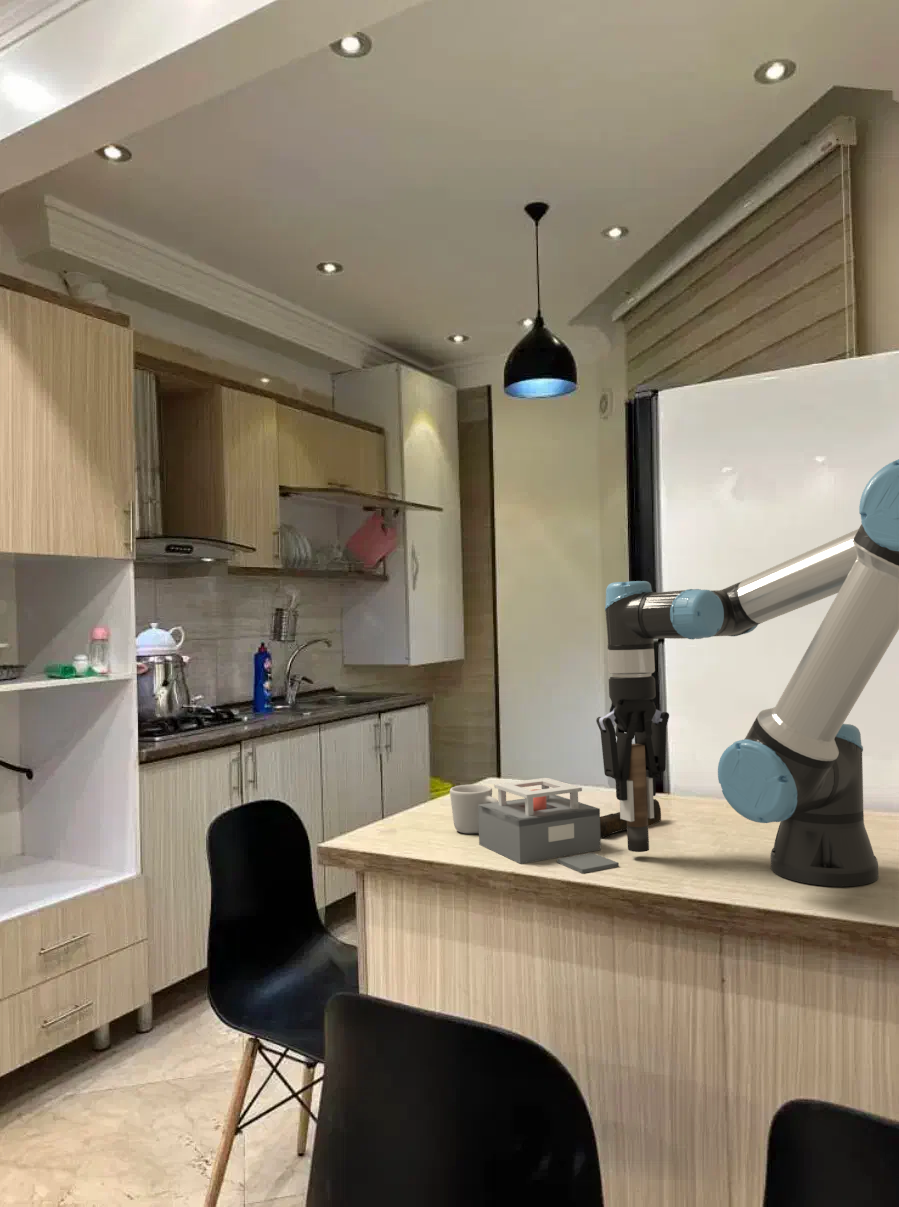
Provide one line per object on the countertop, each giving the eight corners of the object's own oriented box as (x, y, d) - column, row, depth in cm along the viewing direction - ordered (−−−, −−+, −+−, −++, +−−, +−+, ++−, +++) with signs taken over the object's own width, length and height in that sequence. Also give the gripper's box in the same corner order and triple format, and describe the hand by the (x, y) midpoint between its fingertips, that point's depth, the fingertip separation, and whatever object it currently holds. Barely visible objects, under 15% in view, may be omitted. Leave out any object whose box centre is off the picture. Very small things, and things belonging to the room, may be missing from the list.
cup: (513, 832, 163) (512, 789, 163) (485, 841, 157) (484, 796, 157) (470, 823, 170) (469, 782, 170) (442, 832, 164) (441, 789, 164)
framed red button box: (601, 850, 149) (599, 787, 149) (520, 864, 142) (519, 798, 142) (555, 832, 162) (553, 775, 162) (479, 844, 155) (477, 784, 155)
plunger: (550, 832, 151) (549, 791, 151) (535, 834, 150) (534, 793, 150) (541, 828, 154) (540, 788, 154) (526, 830, 153) (525, 790, 153)
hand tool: (603, 841, 156) (603, 815, 156) (587, 837, 159) (586, 811, 159) (672, 824, 167) (671, 800, 167) (655, 820, 170) (655, 796, 170)
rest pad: (618, 866, 139) (618, 862, 139) (582, 873, 136) (582, 869, 136) (592, 856, 145) (592, 852, 146) (557, 862, 142) (557, 858, 142)
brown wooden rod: (653, 849, 143) (649, 745, 143) (636, 853, 141) (632, 747, 142) (640, 845, 146) (635, 743, 146) (623, 848, 144) (619, 745, 145)
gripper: (655, 671, 151) (661, 808, 151) (577, 677, 144) (582, 820, 143) (685, 673, 145) (691, 815, 144) (604, 679, 137) (610, 829, 137)
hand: (637, 817), depth 144 cm, fingers closed on brown wooden rod, 3 cm apart
